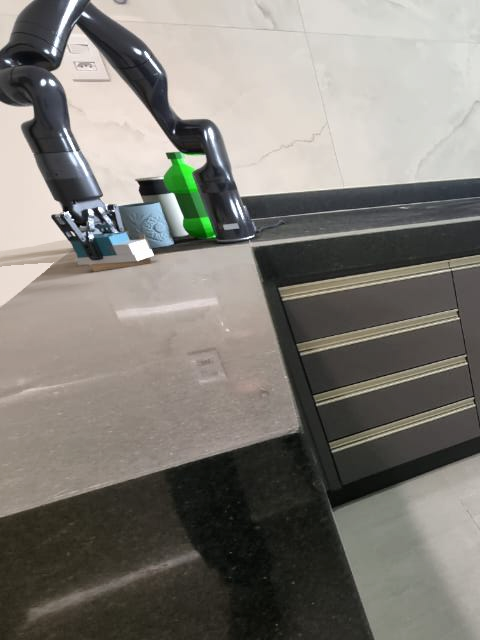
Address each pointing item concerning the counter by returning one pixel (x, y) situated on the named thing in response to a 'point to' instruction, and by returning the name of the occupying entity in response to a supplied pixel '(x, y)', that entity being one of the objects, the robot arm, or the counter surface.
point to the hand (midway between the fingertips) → (108, 256)
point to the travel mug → (163, 202)
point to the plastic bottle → (187, 197)
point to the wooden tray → (122, 264)
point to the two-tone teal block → (114, 249)
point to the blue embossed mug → (147, 223)
